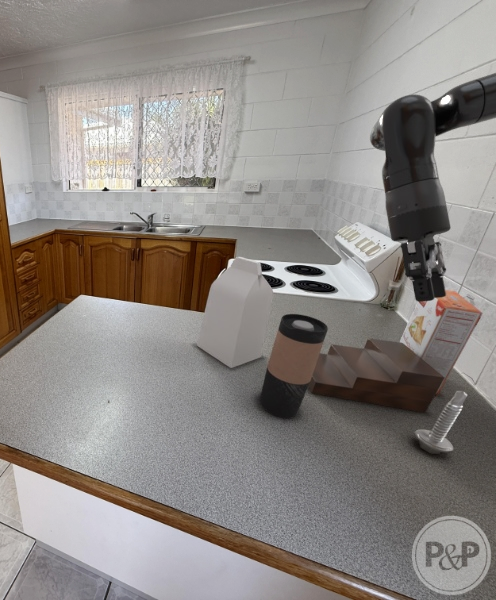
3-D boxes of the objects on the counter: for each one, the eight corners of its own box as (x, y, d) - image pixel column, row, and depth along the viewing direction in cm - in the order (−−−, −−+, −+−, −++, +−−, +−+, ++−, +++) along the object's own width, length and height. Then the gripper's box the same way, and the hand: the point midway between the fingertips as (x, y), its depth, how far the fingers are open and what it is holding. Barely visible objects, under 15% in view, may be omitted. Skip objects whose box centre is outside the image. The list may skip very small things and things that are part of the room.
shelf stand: (311, 393, 70) (324, 359, 67) (293, 359, 83) (303, 329, 79) (425, 412, 65) (445, 377, 61) (387, 373, 77) (402, 342, 74)
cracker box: (389, 358, 84) (422, 285, 76) (419, 365, 81) (457, 290, 73) (403, 386, 73) (444, 305, 65) (439, 396, 70) (486, 312, 62)
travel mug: (298, 402, 67) (327, 319, 59) (298, 424, 61) (330, 336, 53) (259, 389, 71) (281, 310, 63) (256, 410, 65) (280, 325, 57)
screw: (455, 461, 54) (424, 457, 55) (432, 439, 59) (403, 436, 59) (495, 402, 49) (460, 399, 50) (465, 383, 53) (434, 380, 54)
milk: (196, 345, 88) (211, 256, 78) (225, 336, 93) (243, 251, 83) (231, 368, 78) (253, 269, 68) (261, 357, 83) (286, 263, 73)
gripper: (435, 199, 50) (454, 300, 49) (454, 207, 57) (471, 294, 57) (375, 215, 56) (391, 304, 55) (399, 220, 64) (413, 298, 63)
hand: (431, 299), depth 56 cm, fingers open, 8 cm apart
